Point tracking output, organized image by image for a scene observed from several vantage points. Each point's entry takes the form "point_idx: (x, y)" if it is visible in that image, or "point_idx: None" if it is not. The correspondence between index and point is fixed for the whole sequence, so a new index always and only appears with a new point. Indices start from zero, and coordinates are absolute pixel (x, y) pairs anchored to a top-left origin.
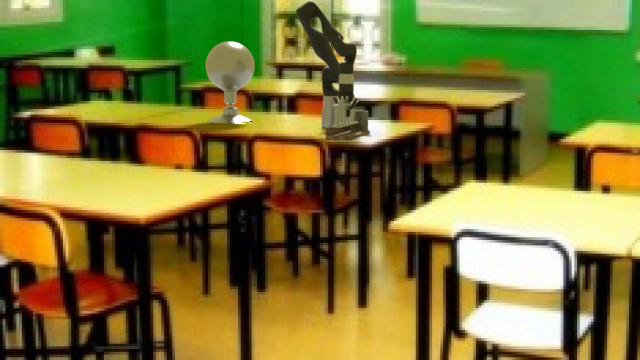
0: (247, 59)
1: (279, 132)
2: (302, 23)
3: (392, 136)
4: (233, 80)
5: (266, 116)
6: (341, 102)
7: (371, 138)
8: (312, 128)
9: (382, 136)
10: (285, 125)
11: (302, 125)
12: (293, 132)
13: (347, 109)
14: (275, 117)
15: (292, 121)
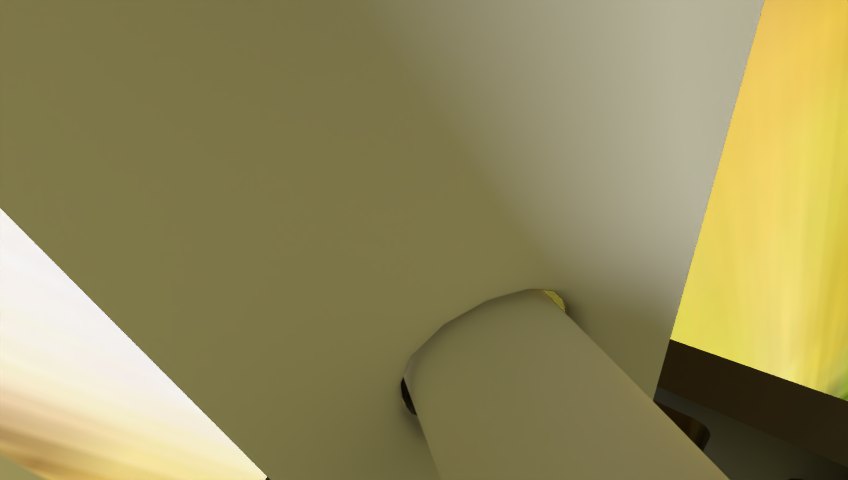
0: None
1: (845, 15)
2: None
3: (57, 454)
4: None
5: (841, 363)
6: (583, 396)
7: (17, 252)
8: (684, 298)
9: (113, 400)
10: (798, 276)
11: (735, 326)
12: (760, 87)
13: None
14: (819, 370)
15: (773, 360)
